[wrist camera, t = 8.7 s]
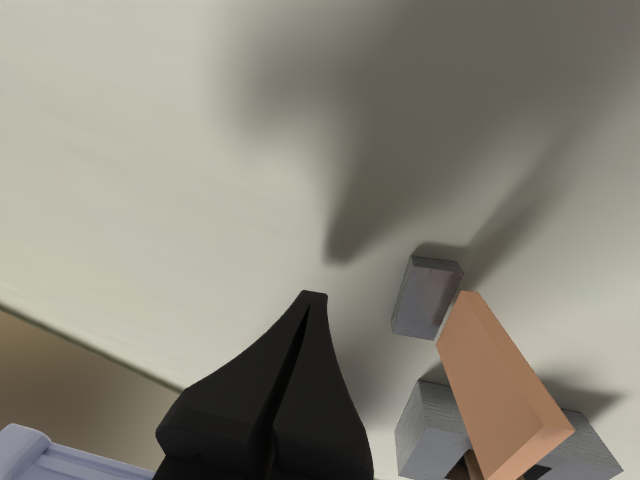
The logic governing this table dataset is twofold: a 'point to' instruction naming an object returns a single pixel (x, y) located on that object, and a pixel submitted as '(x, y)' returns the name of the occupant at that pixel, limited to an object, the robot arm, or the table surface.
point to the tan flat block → (497, 392)
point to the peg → (476, 466)
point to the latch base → (425, 297)
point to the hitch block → (453, 441)
